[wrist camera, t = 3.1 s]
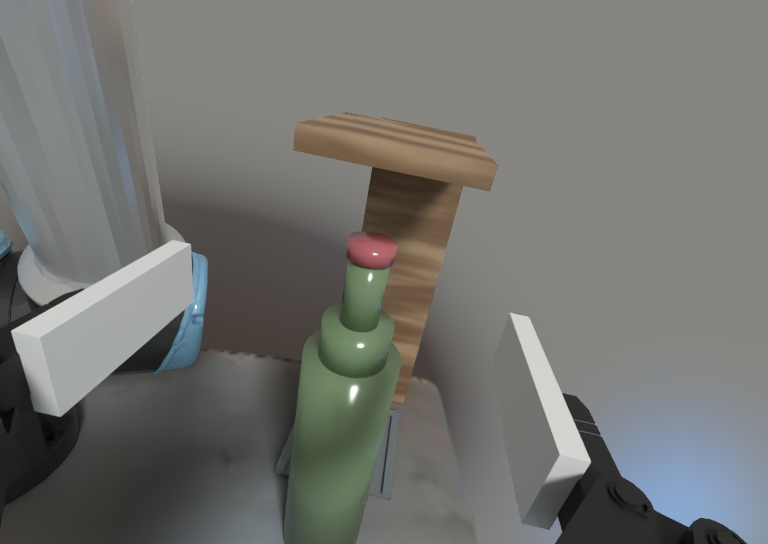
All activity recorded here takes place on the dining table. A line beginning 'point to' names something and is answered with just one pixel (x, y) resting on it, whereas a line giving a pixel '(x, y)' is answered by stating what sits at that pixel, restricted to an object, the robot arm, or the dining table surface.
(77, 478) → the dining table surface
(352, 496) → the wine bottle
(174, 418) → the dining table surface
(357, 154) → the shelf
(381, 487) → the seat pad
